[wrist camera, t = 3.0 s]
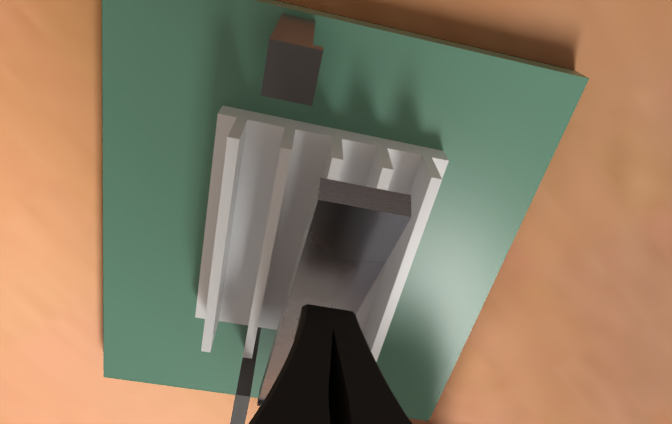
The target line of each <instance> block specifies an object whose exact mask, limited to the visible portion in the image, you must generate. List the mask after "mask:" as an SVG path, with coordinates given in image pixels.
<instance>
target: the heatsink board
mask: <svg viewBox="0 0 672 424" xmlns="http://www.w3.org/2000/svg"><path fill="white" fill-rule="evenodd" d="M588 80H589V78H587V77H585V76H584V75H582V74H580V73H578V72H576V71H574V70H570V69H565V68H561V67H557V66H552V65H548V64H544V63H540V62H535V61H531V60H527V59H523V58H518V57H514V56H510V55H506V54H501V53H497V52H493V51H489V50H484V49H480V48H476V47H471V46H467V45H463V44H459V43H454V42H450V41H446V40H442V39H437V38H433V37H429V36H425V35H420V34H416V33H412V32H408V31H403V30H399V29H395V28H391V27H386V26H382V25H378V24H373V23H369V22H365V21H361V20H356V19H352V18H348V17H344V16H339V15H335V14H331V13H327V12H322V11H318V10H314V9H310V8H305V7H301V6H297V5H293V4H288V3H284V2H280V1H275V0H102V121H103V330H104V377H108V378H115V379H122V380H130V381H137V382H145V383H152V384H159V385H167V386H174V387H181V388H189V389H196V390H204V391H211V392H218V393H226V394H233V395H235V401H234V406H233V412H232V417H231V423H230V424H245V419H246V414H247V409H248V405H249V400H250V397H255V398H258V396H259V390H260V385H261V383H262V380H263V376H264V373H265V369H266V366H267V362H268V359H269V355H270V352H271V348H272V345H273V341H274V338H275V334H276V331H277V327H278V324H279V320H280V317H281V314H282V310H283V307H284V303H285V300H286V296H287V293H288V289H289V286H290V282H291V279H292V275H293V272H294V268H295V265H296V261H297V258H298V254H299V251H300V247H301V244H302V240H303V237H304V234H305V230H306V227H307V223H308V220H309V216H310V213H311V209H312V206H313V202H314V199H315V195H316V192H317V188H318V185H319V181H320V178H325V179H330V180H336V181H341V182H346V183H351V184H356V185H362V186H367V187H372V188H377V189H382V190H387V191H393V192H398V193H403V194H408V195H411V219H410V221H409V222H408V224H407V226H406V228H405V229H404V231H403V233H402V235H401V236H400V238H399V240H398V242H397V243H396V245H395V247H394V249H393V250H392V252H391V254H390V256H389V257H388V259H387V261H386V263H385V264H384V266H383V268H382V270H381V271H380V273H379V275H378V277H377V278H376V280H375V282H374V284H373V286H372V287H371V289H370V291H369V293H368V294H367V296H366V298H365V300H364V301H363V303H362V305H361V307H360V308H359V310H358V312H357V314H356V317H357V320H358V323H359V325H360V327H361V330H362V332H363V335H364V337H365V339H366V341H367V344H368V346H369V348H370V350H371V352H372V354H373V356H374V359H375V361H376V363H377V364H378V366H379V368H380V370H381V372H382V374H383V376H384V378H385V380H386V382H387V383H388V385H389V387H390V389H391V391H392V392H393V394H394V396H395V397H396V399H397V401H398V402H399V404H400V406H401V407H402V409H403V411H404V412H405V414H406V415H407V417H408V418H410V419H418V420H425V421H429V420H430V417H431V415H432V413H433V411H434V409H435V407H436V405H437V402H438V400H439V398H440V396H441V394H442V392H443V390H444V388H445V385H446V383H447V381H448V379H449V377H450V375H451V373H452V370H453V368H454V366H455V364H456V362H457V360H458V358H459V355H460V353H461V351H462V349H463V347H464V345H465V343H466V340H467V338H468V336H469V334H470V332H471V330H472V328H473V326H474V323H475V321H476V319H477V317H478V315H479V313H480V311H481V308H482V306H483V304H484V302H485V300H486V298H487V296H488V293H489V291H490V289H491V287H492V285H493V283H494V281H495V279H496V276H497V274H498V272H499V270H500V268H501V266H502V264H503V261H504V259H505V257H506V255H507V253H508V251H509V249H510V246H511V244H512V242H513V240H514V238H515V236H516V234H517V231H518V229H519V227H520V225H521V223H522V221H523V219H524V217H525V214H526V212H527V210H528V208H529V206H530V204H531V202H532V199H533V197H534V195H535V193H536V191H537V189H538V187H539V184H540V182H541V180H542V178H543V176H544V174H545V172H546V169H547V167H548V165H549V163H550V161H551V159H552V157H553V155H554V152H555V150H556V148H557V146H558V144H559V142H560V140H561V137H562V135H563V133H564V131H565V129H566V127H567V125H568V122H569V120H570V118H571V116H572V114H573V112H574V110H575V108H576V105H577V103H578V101H579V99H580V97H581V95H582V93H583V90H584V88H585V86H586V84H587V82H588Z"/></svg>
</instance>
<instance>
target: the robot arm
mask: <svg viewBox="0 0 672 424" xmlns="http://www.w3.org/2000/svg"><path fill="white" fill-rule="evenodd" d="M249 424H412V423H411V421H410V420H409V418H408V417H407V415H406V414H405V412H404V411H403V409H402V407H401V406H400V404H399V402H398V401H397V399H396V397H395V396H394V394H393V392H392V391H391V389H390V387H389V385H388V383H387V382H386V380H385V378H384V376H383V374H382V372H381V370H380V368H379V366H378V364H377V363H376V361H375V359H374V356H373V354H372V352H371V350H370V348H369V346H368V344H367V341H366V339H365V337H364V335H363V332H362V330H361V327H360V325H359V323H358V320H357V317H356V315H355V314H354V312H353V311H348V310H342V309H335V308H329V307H323V306H317V305H310V304H306V305H304V306H302V309H301V313H300V317H299V321H298V326H297V330H296V334H295V338H294V342H293V345H292V347H291V350H290V352H289V354H288V357H287V359H286V361H285V363H284V365H283V367H282V369H281V371H280V373H279V375H278V377H277V378H276V380H275V382H274V384H273V386H272V388H271V389H270V391H269V393H268V395H267V396H266V398H265V400H264V401H263V403H262V404H261V406H260V407H259V409H258V411H257V412H256V414H255V415H254V417H253V418H252V420H251V421H250V422H249Z"/></svg>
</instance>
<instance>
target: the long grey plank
mask: <svg viewBox="0 0 672 424" xmlns="http://www.w3.org/2000/svg"><path fill="white" fill-rule="evenodd" d="M410 219H411V195H408V194H403V193H398V192H393V191H387V190H382V189H377V188H372V187H367V186H362V185H356V184H351V183H346V182H341V181H336V180H330V179H325V178H320V181H319V185H318V188H317V192H316V195H315V199H314V202H313V206H312V209H311V213H310V216H309V220H308V223H307V227H306V230H305V234H304V237H303V240H302V244H301V247H300V251H299V254H298V258H297V261H296V265H295V268H294V272H293V275H292V279H291V282H290V286H289V289H288V293H287V296H286V300H285V303H284V307H283V310H282V314H281V317H280V320H279V324H278V327H277V331H276V334H275V338H274V341H273V345H272V348H271V352H270V355H269V359H268V362H267V366H266V369H265V373H264V376H263V380H262V383H261V385H260V390H259V396H258V402H257V406H261V404H262V403H263V401H264V400H265V398H266V396H267V395H268V393H269V391H270V389H271V388H272V386H273V384H274V382H275V380H276V378H277V377H278V375H279V373H280V371H281V369H282V367H283V365H284V363H285V361H286V359H287V357H288V354H289V352H290V350H291V347H292V345H293V342H294V338H295V334H296V330H297V326H298V321H299V317H300V313H301V309H302V306H304V305H306V304H310V305H317V306H323V307H329V308H335V309H342V310H348V311H353V312H354V314H355V315H356V314H357V312H358V310H359V308H360V307H361V305H362V303H363V301H364V300H365V298H366V296H367V294H368V293H369V291H370V289H371V287H372V286H373V284H374V282H375V280H376V278H377V277H378V275H379V273H380V271H381V270H382V268H383V266H384V264H385V263H386V261H387V259H388V257H389V256H390V254H391V252H392V250H393V249H394V247H395V245H396V243H397V242H398V240H399V238H400V236H401V235H402V233H403V231H404V229H405V228H406V226H407V224H408V222H409V221H410Z"/></svg>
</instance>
